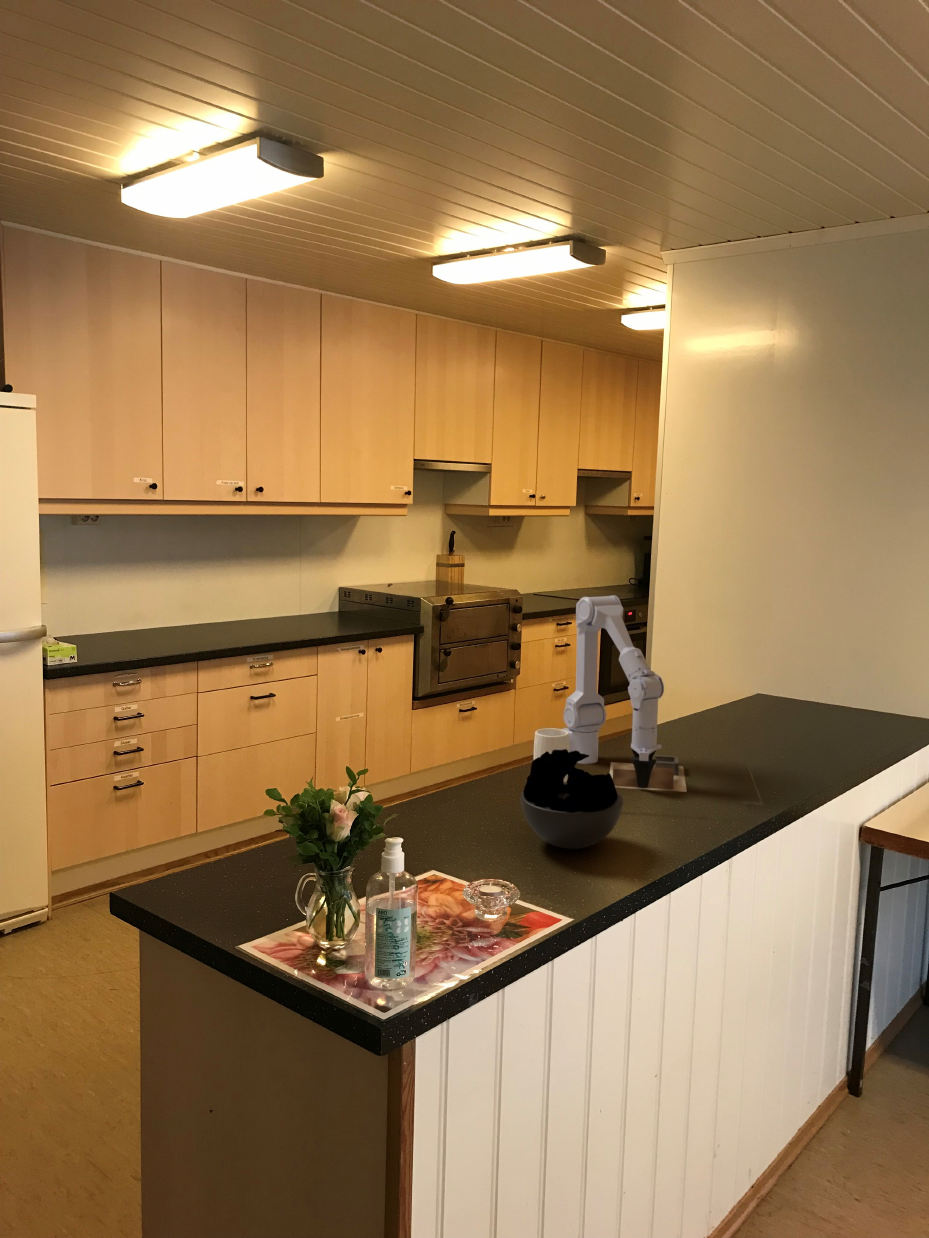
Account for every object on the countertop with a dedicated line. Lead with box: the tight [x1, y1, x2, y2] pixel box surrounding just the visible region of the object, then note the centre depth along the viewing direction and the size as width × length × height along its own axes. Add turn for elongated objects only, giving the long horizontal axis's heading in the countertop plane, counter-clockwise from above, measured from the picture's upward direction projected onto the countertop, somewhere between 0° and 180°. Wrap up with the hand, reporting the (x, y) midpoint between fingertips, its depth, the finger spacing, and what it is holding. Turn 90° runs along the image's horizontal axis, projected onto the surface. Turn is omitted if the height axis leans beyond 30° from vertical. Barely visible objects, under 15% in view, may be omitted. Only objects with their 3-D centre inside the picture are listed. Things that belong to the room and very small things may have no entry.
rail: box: [613, 765, 674, 789], centre depth 231 cm, size 14×3×4 cm, turn 80°
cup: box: [533, 727, 570, 782], centre depth 228 cm, size 8×8×14 cm
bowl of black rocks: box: [520, 749, 624, 850], centre depth 193 cm, size 20×20×19 cm
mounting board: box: [609, 761, 687, 793], centre depth 239 cm, size 18×21×1 cm
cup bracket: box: [654, 754, 680, 776], centre depth 243 cm, size 6×7×3 cm
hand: (642, 782), depth 232 cm, fingers open, 7 cm apart
